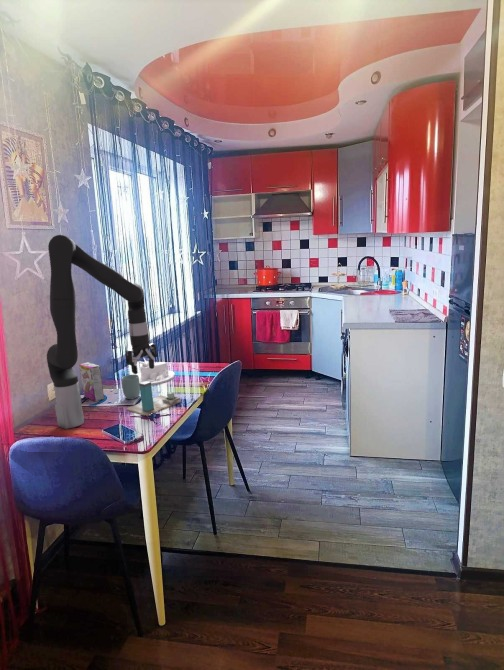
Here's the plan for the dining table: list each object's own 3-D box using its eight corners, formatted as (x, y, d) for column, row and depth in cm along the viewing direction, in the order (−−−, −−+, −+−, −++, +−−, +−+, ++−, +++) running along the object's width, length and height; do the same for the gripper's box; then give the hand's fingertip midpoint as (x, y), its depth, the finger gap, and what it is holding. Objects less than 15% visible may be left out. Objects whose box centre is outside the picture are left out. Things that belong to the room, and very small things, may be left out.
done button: (170, 400, 205) (170, 394, 204) (166, 399, 207) (165, 393, 206) (176, 398, 207) (175, 392, 207) (171, 396, 209) (170, 391, 209)
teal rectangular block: (147, 412, 196) (144, 384, 193) (142, 410, 198) (139, 383, 196) (154, 409, 199) (151, 382, 196) (148, 407, 201) (145, 380, 198)
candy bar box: (83, 397, 222) (78, 364, 219) (93, 394, 226) (88, 361, 222) (95, 402, 215) (90, 367, 211) (105, 399, 218) (100, 365, 215)
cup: (136, 400, 213) (134, 379, 211) (120, 400, 215) (118, 379, 213) (143, 394, 221) (141, 374, 219) (128, 394, 222) (126, 374, 220)
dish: (126, 389, 231) (123, 367, 229) (127, 375, 255) (124, 355, 253) (176, 382, 237) (174, 361, 234) (172, 369, 261) (170, 350, 258)
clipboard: (147, 416, 194) (146, 411, 193) (126, 409, 202) (125, 405, 202) (181, 401, 208) (180, 397, 208) (160, 396, 217) (159, 392, 216)
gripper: (130, 337, 184) (135, 377, 187) (158, 330, 194) (162, 367, 198) (118, 336, 188) (124, 374, 192) (146, 328, 199) (151, 365, 203)
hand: (143, 370), depth 195 cm, fingers open, 8 cm apart
